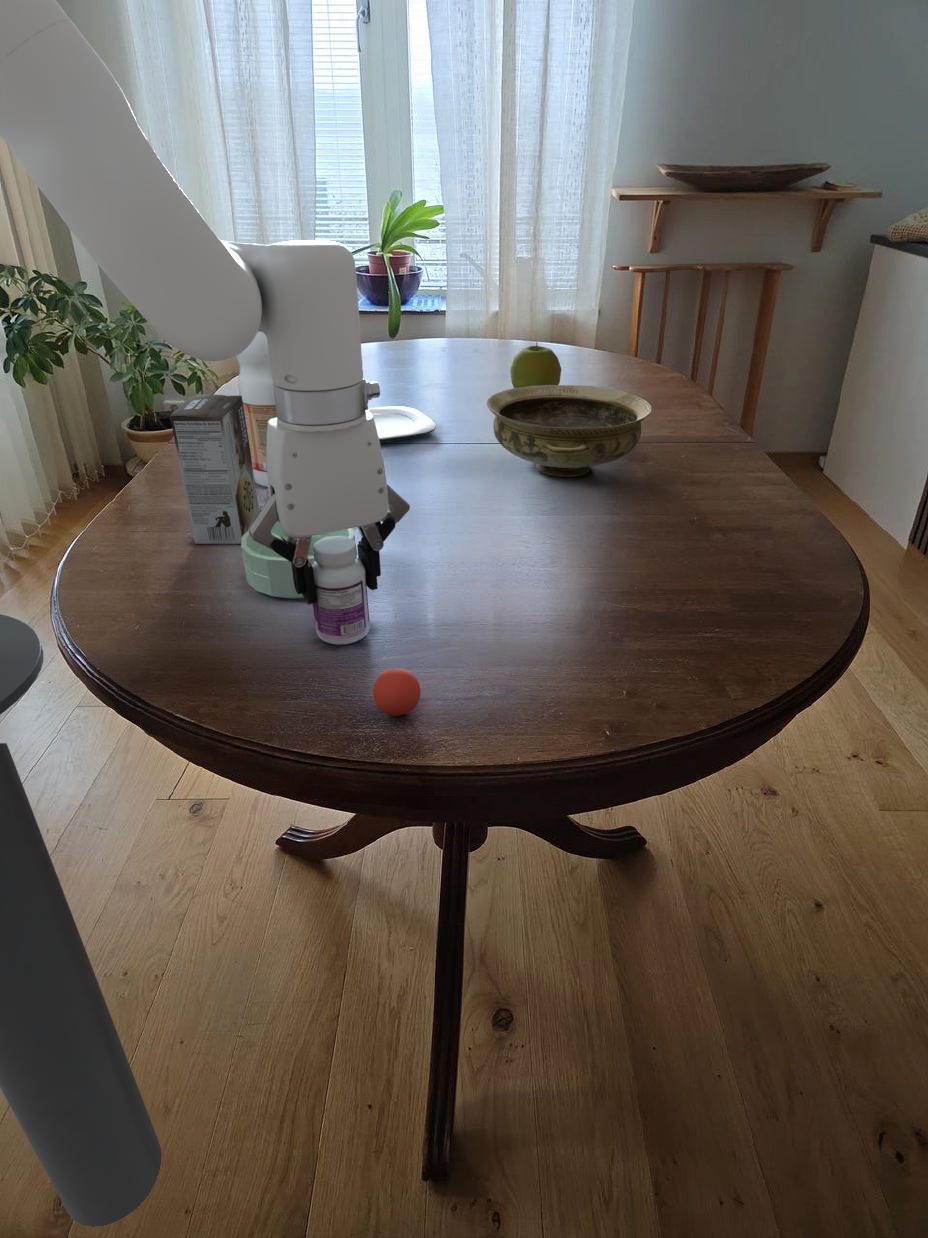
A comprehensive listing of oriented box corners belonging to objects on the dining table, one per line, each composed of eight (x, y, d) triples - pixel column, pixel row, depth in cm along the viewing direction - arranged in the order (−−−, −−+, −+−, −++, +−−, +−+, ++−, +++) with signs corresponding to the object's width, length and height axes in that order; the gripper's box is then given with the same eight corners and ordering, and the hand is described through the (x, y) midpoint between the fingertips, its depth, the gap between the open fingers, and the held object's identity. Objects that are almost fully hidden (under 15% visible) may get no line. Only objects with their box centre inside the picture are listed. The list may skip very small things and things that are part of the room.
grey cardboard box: (213, 515, 105) (191, 393, 96) (261, 515, 105) (243, 393, 96) (192, 544, 97) (166, 414, 89) (244, 544, 97) (223, 414, 89)
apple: (501, 396, 157) (502, 338, 151) (544, 391, 160) (546, 334, 154) (523, 408, 149) (525, 348, 143) (568, 403, 152) (572, 344, 146)
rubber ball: (403, 731, 65) (401, 691, 63) (365, 715, 67) (361, 677, 65) (430, 706, 68) (429, 667, 66) (392, 692, 70) (390, 654, 68)
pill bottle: (324, 617, 81) (314, 531, 76) (375, 619, 80) (368, 533, 75) (309, 645, 76) (298, 555, 71) (363, 648, 76) (355, 557, 71)
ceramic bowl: (649, 509, 106) (658, 436, 101) (473, 500, 109) (473, 429, 104) (639, 441, 131) (646, 380, 126) (497, 435, 134) (498, 375, 129)
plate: (315, 423, 141) (314, 413, 140) (410, 411, 147) (409, 402, 146) (342, 452, 127) (341, 442, 126) (446, 438, 133) (446, 428, 132)
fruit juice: (239, 478, 117) (206, 274, 103) (290, 462, 123) (266, 267, 109) (277, 494, 111) (249, 280, 97) (329, 476, 117) (309, 272, 103)
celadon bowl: (308, 613, 82) (302, 570, 79) (224, 585, 88) (217, 544, 85) (378, 568, 91) (375, 528, 88) (298, 545, 96) (294, 507, 94)
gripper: (397, 381, 73) (405, 558, 82) (209, 404, 66) (241, 593, 75) (431, 400, 67) (436, 588, 76) (228, 428, 60) (260, 629, 70)
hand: (338, 589), depth 76 cm, fingers closed on pill bottle, 5 cm apart
